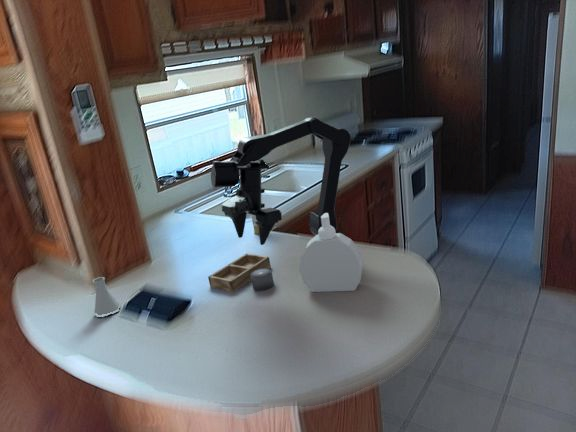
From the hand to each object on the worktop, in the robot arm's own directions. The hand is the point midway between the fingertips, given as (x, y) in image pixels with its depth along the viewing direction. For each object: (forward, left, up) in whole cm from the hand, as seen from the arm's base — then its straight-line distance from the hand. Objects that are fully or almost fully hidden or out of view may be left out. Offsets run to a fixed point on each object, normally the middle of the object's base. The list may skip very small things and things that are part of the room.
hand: (251, 240), depth 130 cm
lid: (-3, +1, -13) cm, 13 cm away
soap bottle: (-22, -5, -13) cm, 26 cm away
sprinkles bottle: (+27, -34, -13) cm, 45 cm away
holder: (+8, -1, -13) cm, 15 cm away
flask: (+31, +29, -13) cm, 44 cm away
